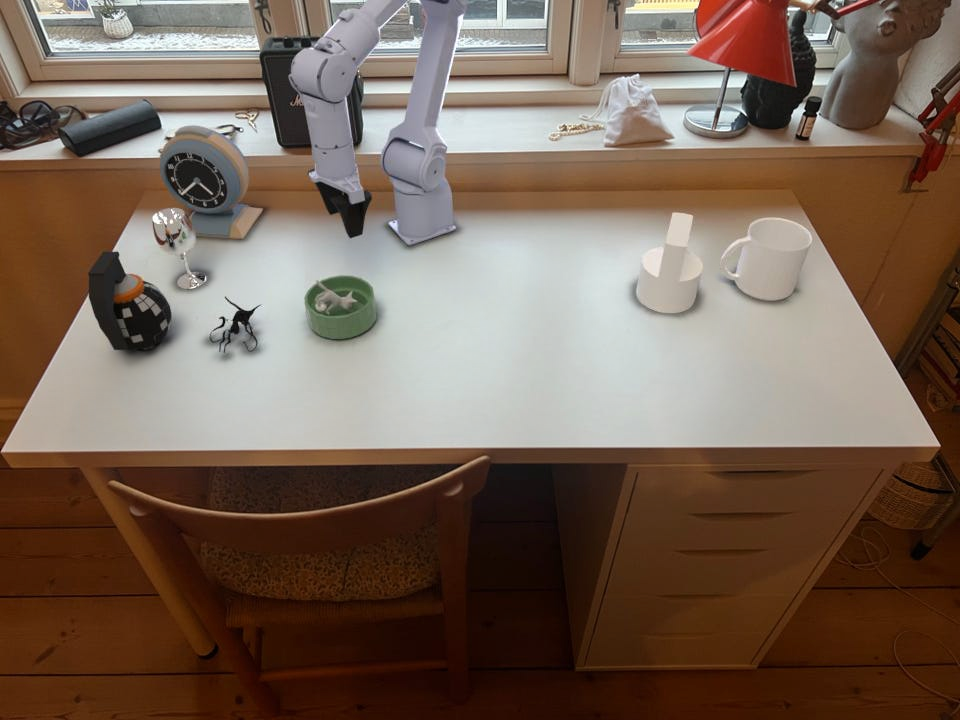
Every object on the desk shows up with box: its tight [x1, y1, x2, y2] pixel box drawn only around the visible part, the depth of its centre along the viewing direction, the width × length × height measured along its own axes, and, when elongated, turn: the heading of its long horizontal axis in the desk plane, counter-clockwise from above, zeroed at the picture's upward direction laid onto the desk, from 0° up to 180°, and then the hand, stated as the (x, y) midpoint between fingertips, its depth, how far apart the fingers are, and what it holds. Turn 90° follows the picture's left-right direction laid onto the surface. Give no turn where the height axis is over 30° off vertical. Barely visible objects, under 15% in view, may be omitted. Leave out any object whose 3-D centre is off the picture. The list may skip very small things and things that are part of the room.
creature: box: [209, 296, 263, 354], centre depth 101 cm, size 8×5×8 cm
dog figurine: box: [315, 279, 357, 315], centre depth 103 cm, size 3×8×6 cm
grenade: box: [87, 251, 173, 352], centre depth 96 cm, size 11×10×15 cm
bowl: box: [303, 274, 378, 340], centre depth 104 cm, size 10×10×4 cm
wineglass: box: [151, 207, 207, 290], centre depth 109 cm, size 6×6×12 cm
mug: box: [719, 217, 813, 302], centre depth 108 cm, size 12×9×9 cm
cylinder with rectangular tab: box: [635, 211, 704, 314], centre depth 105 cm, size 9×9×12 cm
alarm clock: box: [159, 124, 264, 240], centre depth 120 cm, size 14×10×18 cm
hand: (345, 223), depth 107 cm, fingers open, 7 cm apart
